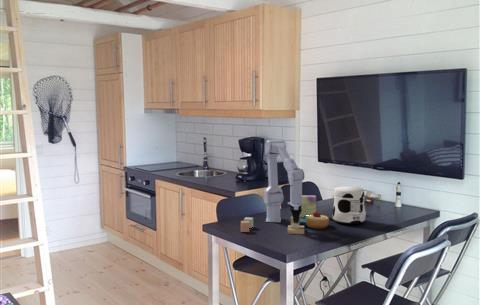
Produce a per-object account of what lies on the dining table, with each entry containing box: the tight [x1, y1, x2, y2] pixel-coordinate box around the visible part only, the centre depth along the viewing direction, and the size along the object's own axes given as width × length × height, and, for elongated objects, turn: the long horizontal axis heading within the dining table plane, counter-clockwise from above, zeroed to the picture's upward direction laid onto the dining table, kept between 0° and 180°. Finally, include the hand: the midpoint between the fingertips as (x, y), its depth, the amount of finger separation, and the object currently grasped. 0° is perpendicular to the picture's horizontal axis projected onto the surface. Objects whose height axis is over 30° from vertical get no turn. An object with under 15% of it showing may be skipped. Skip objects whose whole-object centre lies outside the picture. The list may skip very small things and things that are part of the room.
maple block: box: [290, 216, 300, 229], centre depth 217 cm, size 4×4×5 cm
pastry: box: [305, 209, 330, 230], centre depth 227 cm, size 12×12×9 cm
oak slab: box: [287, 224, 305, 235], centre depth 218 cm, size 8×8×2 cm
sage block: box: [243, 216, 254, 229], centre depth 225 cm, size 4×4×5 cm
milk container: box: [331, 185, 367, 225], centre depth 234 cm, size 17×17×18 cm
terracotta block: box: [240, 220, 250, 233], centre depth 218 cm, size 4×4×5 cm
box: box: [299, 194, 317, 218], centre depth 248 cm, size 10×6×12 cm, turn 84°
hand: (296, 221), depth 217 cm, fingers open, 6 cm apart
